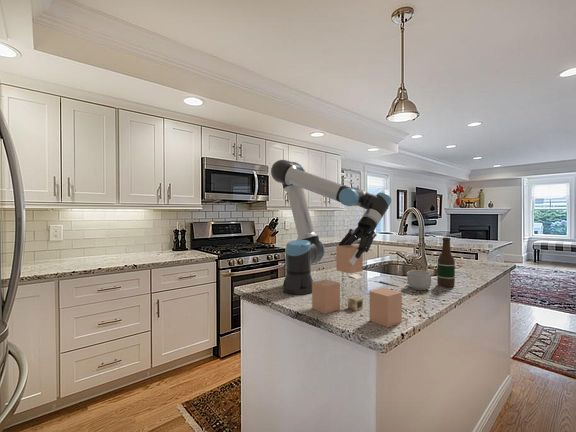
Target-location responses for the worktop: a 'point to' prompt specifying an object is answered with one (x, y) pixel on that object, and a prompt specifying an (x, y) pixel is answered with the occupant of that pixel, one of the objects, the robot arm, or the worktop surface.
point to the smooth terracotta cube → (344, 256)
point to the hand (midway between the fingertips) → (343, 262)
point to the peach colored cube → (326, 296)
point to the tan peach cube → (385, 307)
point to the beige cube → (355, 303)
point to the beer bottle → (446, 266)
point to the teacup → (419, 279)
